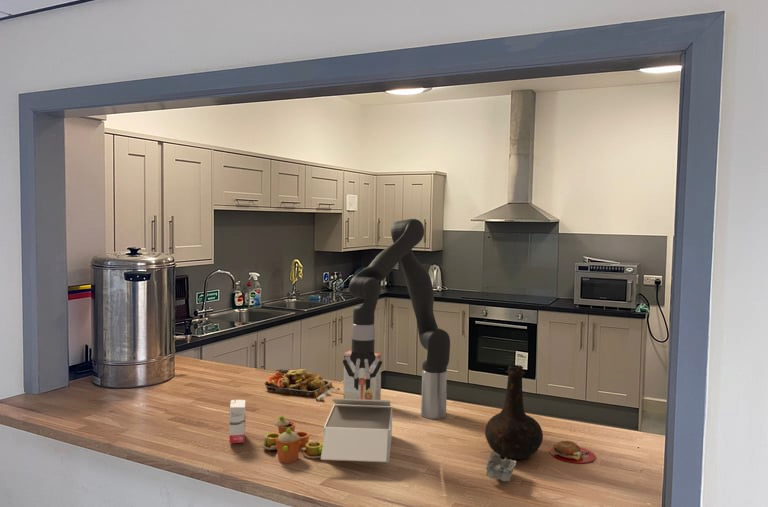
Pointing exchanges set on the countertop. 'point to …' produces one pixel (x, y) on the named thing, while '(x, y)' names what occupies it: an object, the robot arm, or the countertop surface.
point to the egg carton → (500, 467)
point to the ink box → (237, 421)
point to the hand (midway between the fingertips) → (362, 389)
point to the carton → (358, 433)
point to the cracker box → (369, 394)
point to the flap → (360, 401)
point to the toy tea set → (291, 442)
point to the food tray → (299, 384)
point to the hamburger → (571, 452)
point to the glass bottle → (514, 423)
